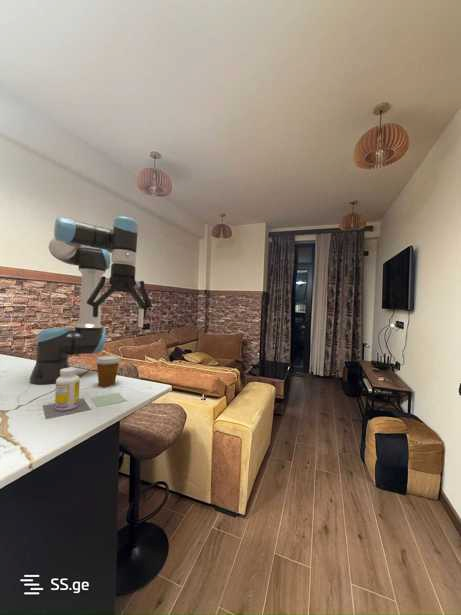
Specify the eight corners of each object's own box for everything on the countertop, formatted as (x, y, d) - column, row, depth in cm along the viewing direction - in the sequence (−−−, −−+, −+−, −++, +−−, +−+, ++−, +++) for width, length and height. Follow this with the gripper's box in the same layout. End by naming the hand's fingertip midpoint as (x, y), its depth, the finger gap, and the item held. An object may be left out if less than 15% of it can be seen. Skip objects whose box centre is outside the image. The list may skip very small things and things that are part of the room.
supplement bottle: (74, 401, 85) (76, 365, 85) (81, 407, 81) (83, 369, 81) (51, 407, 80) (53, 368, 80) (57, 413, 76) (60, 372, 76)
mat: (90, 398, 89) (90, 397, 89) (118, 392, 96) (118, 392, 96) (96, 407, 82) (96, 406, 82) (126, 400, 89) (126, 400, 89)
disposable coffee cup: (108, 389, 99) (110, 360, 100) (89, 386, 101) (90, 358, 101) (123, 382, 109) (124, 356, 109) (105, 380, 111) (106, 354, 111)
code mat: (42, 405, 81) (42, 405, 81) (83, 398, 89) (83, 398, 89) (45, 419, 72) (45, 418, 72) (90, 409, 80) (90, 409, 80)
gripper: (83, 256, 69) (79, 329, 69) (163, 269, 86) (159, 327, 86) (78, 259, 75) (74, 326, 75) (154, 270, 92) (151, 326, 91)
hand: (120, 327), depth 80 cm, fingers open, 13 cm apart
